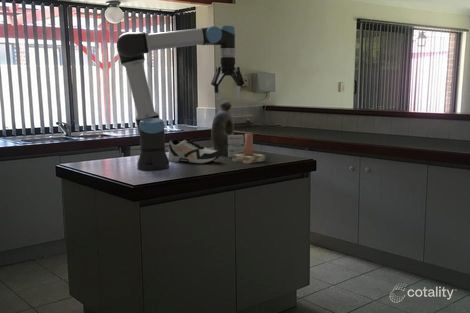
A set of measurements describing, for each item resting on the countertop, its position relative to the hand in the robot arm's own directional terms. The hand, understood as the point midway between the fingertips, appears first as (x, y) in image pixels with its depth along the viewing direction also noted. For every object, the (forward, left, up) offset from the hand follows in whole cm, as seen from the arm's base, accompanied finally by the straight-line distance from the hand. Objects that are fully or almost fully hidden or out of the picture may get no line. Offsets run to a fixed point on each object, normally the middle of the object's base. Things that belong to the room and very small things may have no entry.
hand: (228, 99), depth 247 cm
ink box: (+9, +5, -32) cm, 34 cm away
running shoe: (-18, +8, -32) cm, 38 cm away
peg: (+5, -10, -32) cm, 34 cm away
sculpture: (+11, +19, -32) cm, 39 cm away
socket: (+5, -10, -32) cm, 34 cm away
